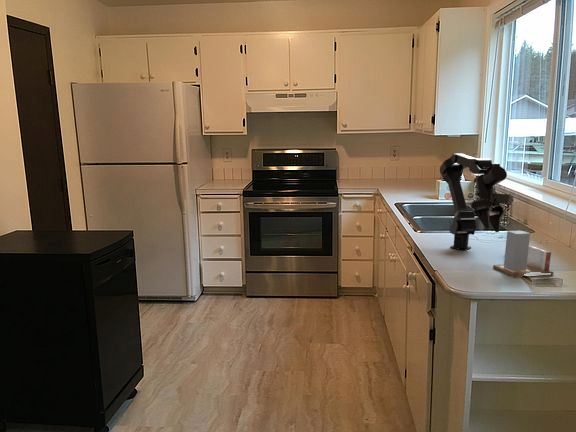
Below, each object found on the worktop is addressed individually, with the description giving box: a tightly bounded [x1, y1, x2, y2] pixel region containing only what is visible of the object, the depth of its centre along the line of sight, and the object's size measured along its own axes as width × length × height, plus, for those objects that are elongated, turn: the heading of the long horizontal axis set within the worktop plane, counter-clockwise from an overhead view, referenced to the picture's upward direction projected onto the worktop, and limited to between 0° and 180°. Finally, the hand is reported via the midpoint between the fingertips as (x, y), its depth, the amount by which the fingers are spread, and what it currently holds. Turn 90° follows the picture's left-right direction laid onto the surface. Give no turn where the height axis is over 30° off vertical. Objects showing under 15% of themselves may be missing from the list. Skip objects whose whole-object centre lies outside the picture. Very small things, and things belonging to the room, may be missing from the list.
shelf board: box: [492, 245, 555, 279], centre depth 164 cm, size 16×11×8 cm
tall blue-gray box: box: [503, 230, 531, 271], centre depth 163 cm, size 4×6×13 cm
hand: (492, 230), depth 172 cm, fingers open, 9 cm apart
